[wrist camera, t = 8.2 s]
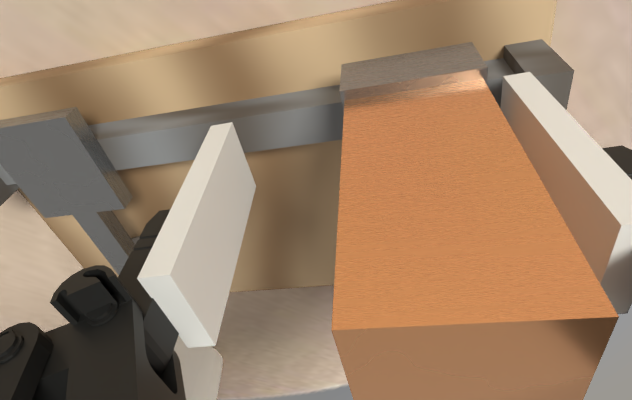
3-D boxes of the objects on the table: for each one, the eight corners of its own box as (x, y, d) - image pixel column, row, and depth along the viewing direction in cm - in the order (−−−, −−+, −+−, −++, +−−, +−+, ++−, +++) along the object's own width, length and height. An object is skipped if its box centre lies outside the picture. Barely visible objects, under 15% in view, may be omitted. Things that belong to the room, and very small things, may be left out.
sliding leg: (376, 256, 21) (389, 522, 12) (342, 48, 14) (320, 318, 6) (458, 249, 20) (531, 528, 12) (462, 27, 13) (634, 301, 5)
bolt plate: (119, 285, 27) (89, 338, 24) (-38, 85, 18) (-116, 130, 15) (509, 255, 22) (532, 317, 19) (546, -29, 14) (599, 2, 11)
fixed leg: (131, 275, 23) (115, 303, 22) (6, 108, 17) (-27, 132, 15) (195, 270, 23) (183, 298, 21) (91, 93, 16) (64, 117, 15)
